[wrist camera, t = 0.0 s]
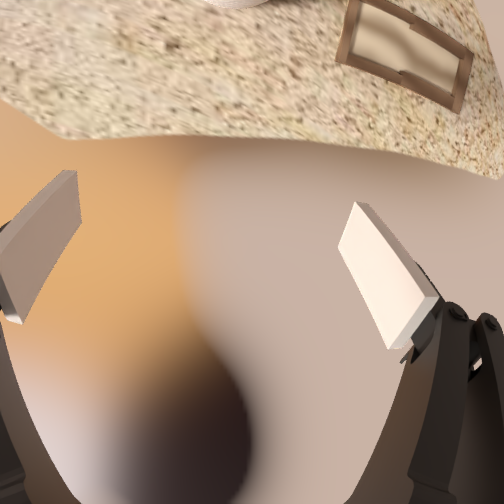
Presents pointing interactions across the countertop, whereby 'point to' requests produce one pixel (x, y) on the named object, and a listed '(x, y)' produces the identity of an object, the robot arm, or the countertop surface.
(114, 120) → the countertop surface
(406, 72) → the shallow serving tray
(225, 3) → the mug
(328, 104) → the countertop surface
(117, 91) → the countertop surface
